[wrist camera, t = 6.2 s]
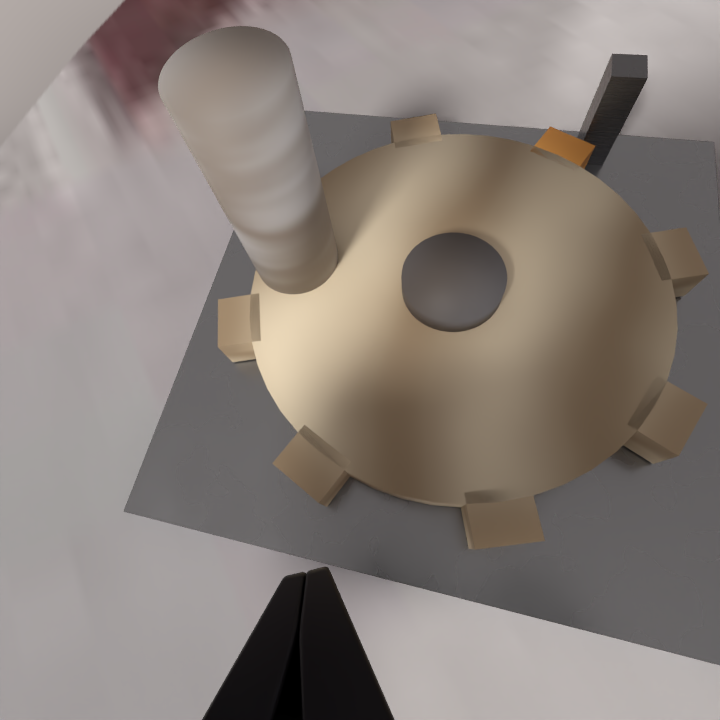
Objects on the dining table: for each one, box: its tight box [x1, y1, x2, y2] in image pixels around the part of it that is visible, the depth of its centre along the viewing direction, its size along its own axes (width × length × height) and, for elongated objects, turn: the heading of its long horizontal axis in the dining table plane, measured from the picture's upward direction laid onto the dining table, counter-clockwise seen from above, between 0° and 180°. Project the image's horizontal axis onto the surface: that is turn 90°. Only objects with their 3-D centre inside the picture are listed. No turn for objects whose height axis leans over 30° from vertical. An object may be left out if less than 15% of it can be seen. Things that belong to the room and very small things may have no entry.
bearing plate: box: [124, 54, 720, 665], centre depth 16 cm, size 20×20×4 cm
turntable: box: [158, 26, 709, 550], centre depth 13 cm, size 17×17×9 cm
